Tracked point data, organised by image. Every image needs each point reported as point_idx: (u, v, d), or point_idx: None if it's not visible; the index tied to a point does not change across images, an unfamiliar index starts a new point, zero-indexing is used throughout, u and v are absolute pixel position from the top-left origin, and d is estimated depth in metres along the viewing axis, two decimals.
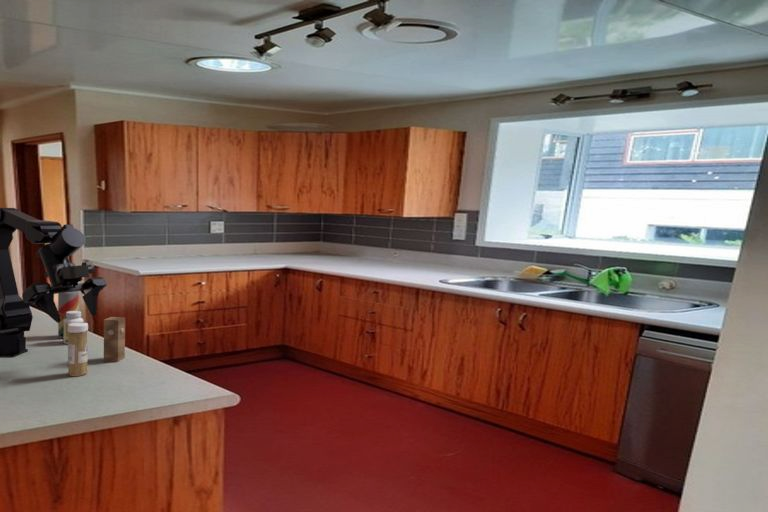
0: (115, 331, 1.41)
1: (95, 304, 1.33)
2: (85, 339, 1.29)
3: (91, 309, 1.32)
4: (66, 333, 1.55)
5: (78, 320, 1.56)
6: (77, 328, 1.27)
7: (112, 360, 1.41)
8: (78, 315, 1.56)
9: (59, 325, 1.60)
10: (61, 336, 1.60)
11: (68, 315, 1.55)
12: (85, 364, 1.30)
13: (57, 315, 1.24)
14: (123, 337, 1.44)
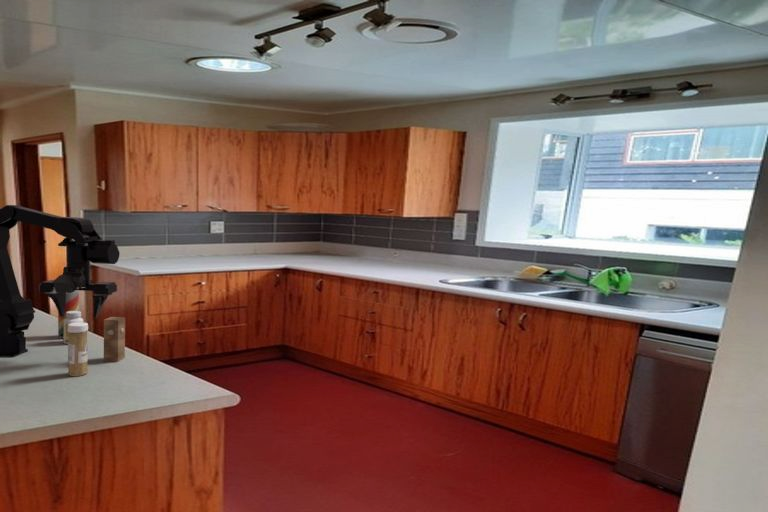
0: (115, 331, 1.41)
1: (95, 308, 1.41)
2: (85, 339, 1.29)
3: None
4: (66, 333, 1.55)
5: (78, 320, 1.56)
6: (77, 328, 1.27)
7: (112, 360, 1.41)
8: (78, 315, 1.56)
9: (59, 325, 1.60)
10: (61, 336, 1.60)
11: (68, 315, 1.55)
12: (85, 364, 1.30)
13: (59, 311, 1.40)
14: (123, 337, 1.44)
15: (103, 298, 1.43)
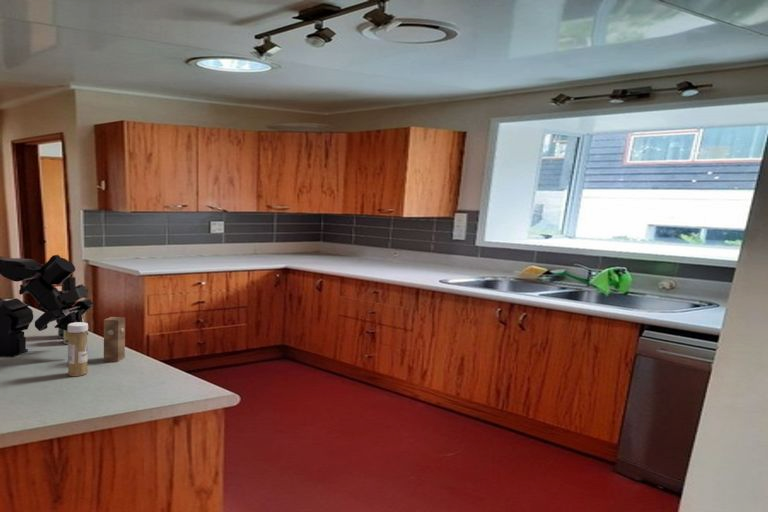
0: (115, 331, 1.41)
1: None
2: (85, 339, 1.29)
3: None
4: (66, 333, 1.55)
5: None
6: (77, 328, 1.27)
7: (112, 360, 1.41)
8: None
9: None
10: (61, 336, 1.60)
11: None
12: (85, 364, 1.30)
13: None
14: (123, 337, 1.44)
15: None
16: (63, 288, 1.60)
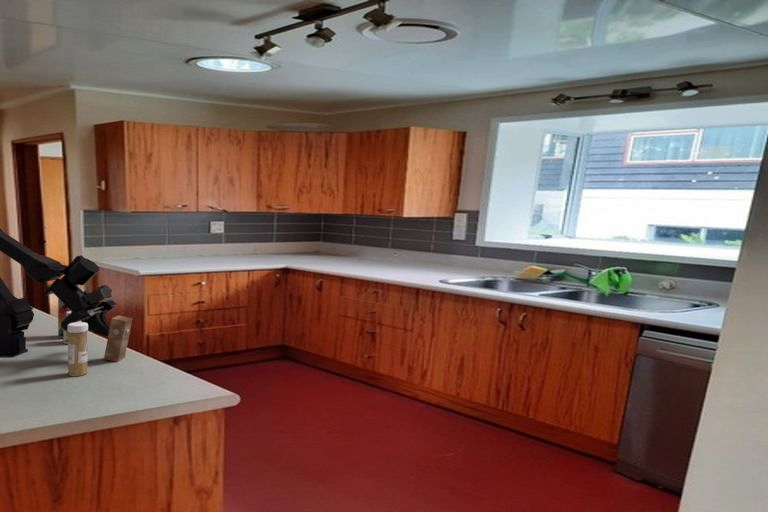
0: (120, 331, 1.41)
1: (108, 325, 1.43)
2: (85, 339, 1.29)
3: None
4: (66, 333, 1.55)
5: None
6: (77, 328, 1.27)
7: (112, 359, 1.41)
8: None
9: (59, 325, 1.60)
10: (61, 336, 1.60)
11: None
12: (85, 364, 1.30)
13: (108, 330, 1.42)
14: (127, 337, 1.44)
15: None
16: None
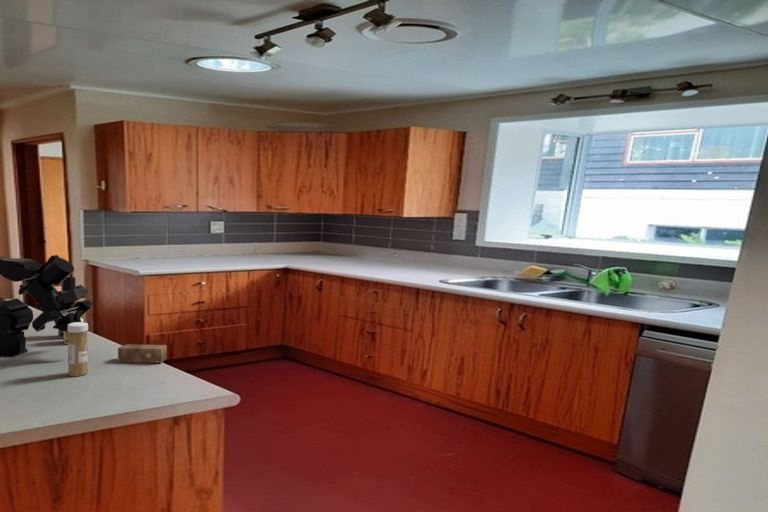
0: (150, 359, 1.42)
1: None
2: (85, 339, 1.29)
3: None
4: (66, 333, 1.55)
5: None
6: (77, 328, 1.27)
7: (119, 356, 1.41)
8: None
9: None
10: (61, 336, 1.60)
11: None
12: (85, 364, 1.30)
13: None
14: None
15: None
16: (63, 288, 1.60)
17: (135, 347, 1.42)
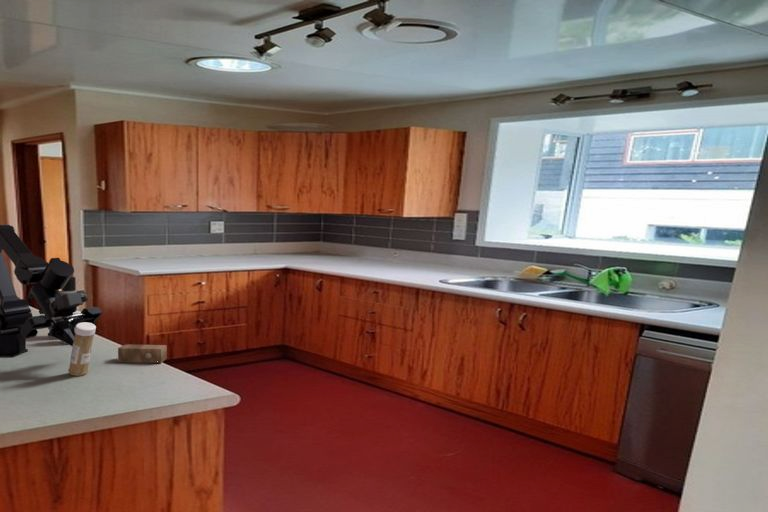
0: (150, 359, 1.42)
1: None
2: (91, 342, 1.28)
3: None
4: None
5: None
6: (85, 332, 1.26)
7: (119, 356, 1.41)
8: None
9: None
10: None
11: None
12: (86, 365, 1.29)
13: None
14: None
15: None
16: (63, 288, 1.60)
17: (135, 347, 1.42)
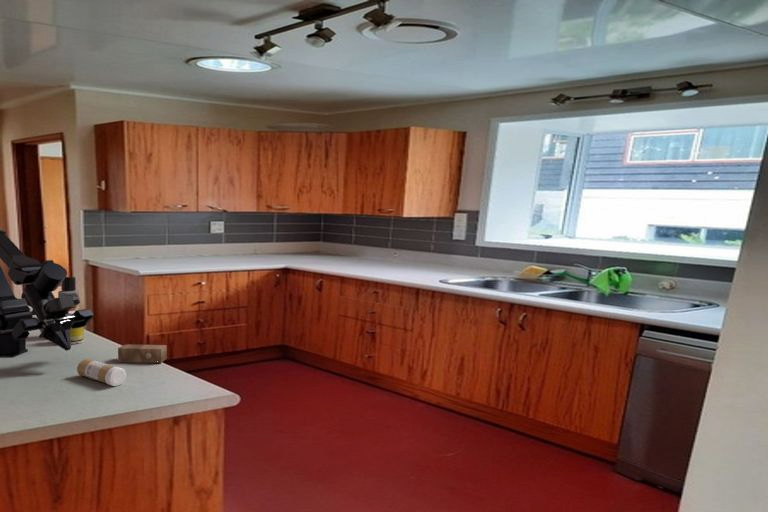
0: (150, 359, 1.42)
1: (68, 337, 1.32)
2: None
3: None
4: None
5: None
6: (110, 384, 1.23)
7: (119, 356, 1.41)
8: None
9: None
10: None
11: (68, 315, 1.55)
12: None
13: (65, 343, 1.31)
14: None
15: None
16: (63, 288, 1.60)
17: (135, 347, 1.42)
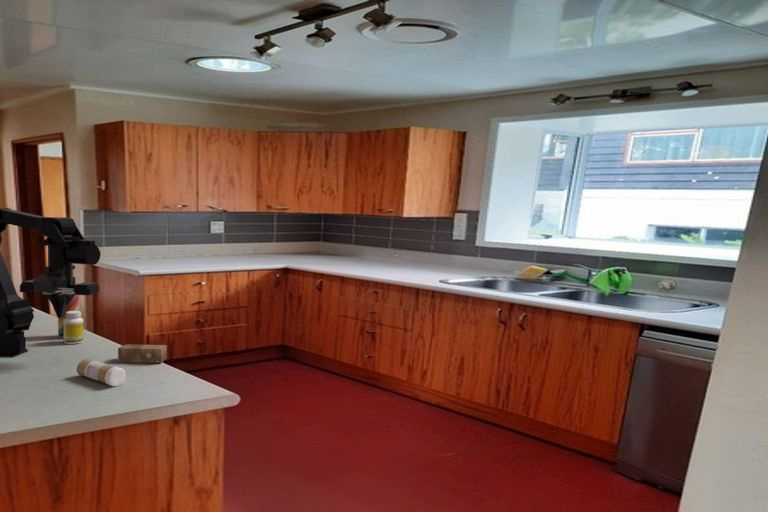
0: (150, 359, 1.42)
1: (60, 308, 1.39)
2: None
3: None
4: (66, 333, 1.55)
5: (78, 320, 1.56)
6: (110, 385, 1.23)
7: (119, 356, 1.41)
8: (78, 315, 1.56)
9: (59, 325, 1.60)
10: (61, 336, 1.60)
11: (68, 315, 1.55)
12: None
13: (56, 312, 1.39)
14: None
15: (69, 298, 1.41)
16: None
17: (135, 347, 1.42)
